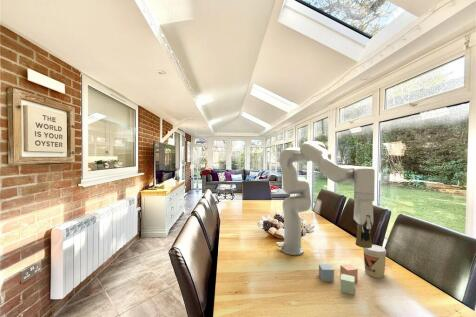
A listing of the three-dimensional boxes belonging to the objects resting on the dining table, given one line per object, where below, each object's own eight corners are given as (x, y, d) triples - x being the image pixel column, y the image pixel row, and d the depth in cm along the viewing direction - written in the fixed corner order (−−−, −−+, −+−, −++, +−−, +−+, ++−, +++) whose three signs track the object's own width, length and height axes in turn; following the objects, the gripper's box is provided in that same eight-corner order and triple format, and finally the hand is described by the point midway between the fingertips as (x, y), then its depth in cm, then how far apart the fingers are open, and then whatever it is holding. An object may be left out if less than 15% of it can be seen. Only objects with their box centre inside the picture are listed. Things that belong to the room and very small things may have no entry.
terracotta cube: (347, 281, 99) (347, 270, 99) (340, 275, 104) (340, 265, 104) (357, 280, 100) (357, 269, 100) (349, 274, 105) (349, 263, 105)
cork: (352, 242, 97) (352, 217, 97) (365, 242, 98) (366, 217, 98) (361, 248, 91) (361, 221, 91) (375, 248, 92) (375, 220, 91)
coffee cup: (358, 270, 109) (358, 245, 109) (372, 267, 112) (372, 243, 112) (376, 280, 100) (376, 253, 100) (391, 276, 104) (391, 250, 104)
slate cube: (322, 280, 100) (322, 269, 100) (318, 275, 105) (318, 264, 105) (333, 281, 100) (333, 269, 100) (329, 275, 105) (329, 264, 105)
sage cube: (340, 291, 92) (340, 279, 92) (341, 285, 96) (341, 273, 96) (354, 294, 90) (354, 282, 90) (354, 288, 94) (354, 276, 94)
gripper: (348, 193, 103) (348, 232, 103) (360, 199, 87) (360, 247, 87) (366, 193, 102) (366, 234, 102) (382, 200, 85) (381, 248, 86)
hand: (363, 239), depth 94 cm, fingers closed on cork, 3 cm apart
